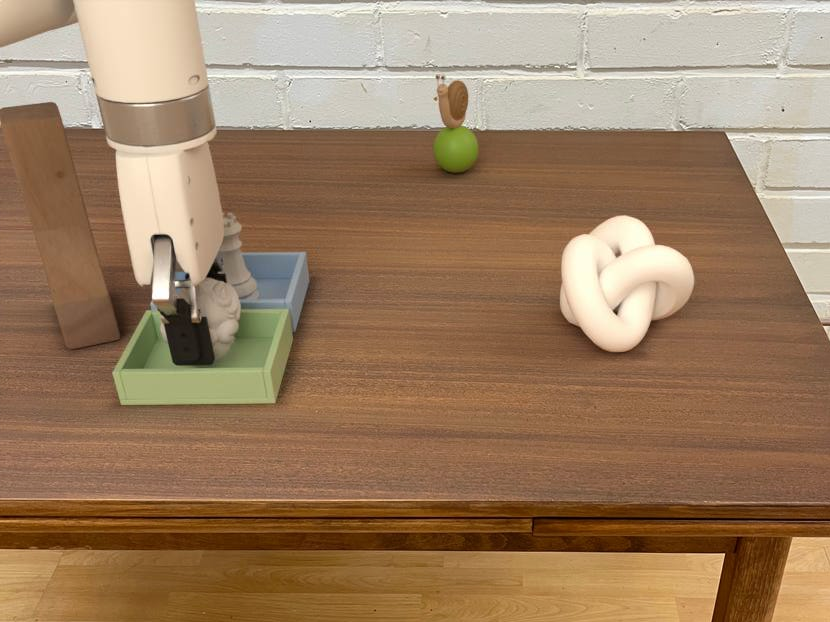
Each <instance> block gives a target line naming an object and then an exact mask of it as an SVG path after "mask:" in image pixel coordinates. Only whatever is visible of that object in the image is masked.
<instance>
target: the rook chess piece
mask: <svg viewBox="0 0 830 622" xmlns="http://www.w3.org/2000/svg"><path fill="white" fill-rule="evenodd" d="M222 215H223V223H224V237H223V241H222V244H221V246H220V252H221V255H222V258H223V261H224V271H223V272H218V273H225V274H226V279H227V283H228V284H230V285H232V286H233V288H234V289H235V291H236V293H237V295H238V298H239V299H258V297H259V291H258V290H257V289H256V288H257V282H256V280H255V279H254V278H253V277H252V276H251V275H250V272H249V271H248V270H247V268H246V266H245V263H244V260H243V257H242V254H241V253H242V250H241V247H242V245H243V242H242V240H240V239H239V234H240V233H241V231H242V229H243V225H242V224H241V223H240V222H239V221H237V216H236V215H234V213H232V212H228V213H227V217H225V212H223V211H222Z"/></svg>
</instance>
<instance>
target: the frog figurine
mask: <svg viewBox="0 0 830 622" xmlns="http://www.w3.org/2000/svg"><path fill="white" fill-rule="evenodd" d="M187 280H189V278H188V279H187ZM199 287H200V301H201V315H202V317H207V321H208V326H209V331H210V336H211V341H212V346H213V351H214V356H215V360H214V362H213V364H212V365H196V366H195V367H209V366H213V365H215V364H217V363H219V362H221V361H222V360H223V359H224V358H225V357H226V356H227V355H228V353H229V352H230V350H231V347H232V346H233V345H234V341H235V337H234V336H233V335H234V334H235V333H236V332H237V331H238V328H239V324H238V322H237V321H238V320H239V319H240V314H241V305H240V301H239V298H238V295H237V293H236V291H235V289H234V288H233V286H232V285H230V284H228V283H224V282H223V281H218V280H215V279H212V278H205V279H204V280H203V281H202V282H201V283H200V284H199ZM177 295H178V298H183V299H184V300H185V301H186V302H187V303H188V304H189V291H188V288H182V289H181V290H180V291H179V293H177ZM189 305H190V304H189ZM160 330H161V332H162V337H163V340H164V341H165V342H166V343H168V340H167V336H166V332H165V327H164V324H163V323H162V321H161V326H160Z"/></svg>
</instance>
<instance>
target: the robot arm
mask: <svg viewBox="0 0 830 622" xmlns="http://www.w3.org/2000/svg"><path fill="white" fill-rule="evenodd" d="M197 13H198V12H197V7H196V1H195V0H0V48H4V47H7V46H9V45H13V44H16V43H18V42H21V41H22V42H23V41H24V40H27V39H30V38H34V37H36V36H39V35H41V34H44V33H48V32H51V31H55V30H58V29H62V28H65V27H68V26H71V25H75V24H78V27H79V31H80V35H81V39H82V43H83V47H84V51H85V55H86V59H87V65H88V68H89V72H90V76H91V81H92V84H93V89H94V93H95V96H96V101H97V105H98V109H99V113H100V118H101V122H102V126H103V129H104V133H105V138H106V142H107V145H108V146H109V147H110V148H111V149H114V150H116V151H115V167H116V178H117V187H118V194H119V201H120V207H121V213H122V219H123V225H124V230H125V236H126V239H127V240H126V241H127V245H128V250H129V255H130V260H131V266H132V270H133V274H134V278H135V281H136V283H137V285H139V286H140V287H142V288H145V287H148V286H149V285H151V301H153V303H154V305H155V306H156V307H157V309H158V311H159V312H160V314H161V321H162V323H163V324H164V327H165V332H166V336H167V340H168V345H169V349H170V353H171V358H172V362H173V363H174V364H175V365H177V366H196V365H212V364H213V362H214V360H215V356H214V351H213V346H212V341H211V336H210V331H209V326H208V321H207V317H202V315H201V301H200V287H199V284H200V283H201V282H202V281H203V280H204V279H205V278H212V279H215V280H218V281H223V282H224V283H227V279H226V274H225V273H218V272H223V271H224V261H223V258H222V255H221V252H220V246H221V244H222V241H223V237H224V223H223V215H222V213H223V208H222V202H221V196H220V191H219V186H218V181H217V177H216V176H217V175H216V172H215V168H214V167H215V166H214V162H213V157H212V154H211V149H210V145H209V142H211V141H212V140H213V139H214V138H215V137H216V136H217V132H218V131H217V125H216V119H215V112H214V108H213V106H214V105H213V101H212V95H211V90H210V84H209V78H208V72H207V65H206V61H205V60H206V59H205V54H204V48H203V42H202V37H201V31H200V25H199V19H198V18H199V17H198V14H197ZM175 272H185V273H189V274H186V275H185V279H186V280H175ZM188 278H189V280H187V279H188ZM175 288H188V291H189V304H190V305H189V304H188V303H187V302H186V301H185V300H184V299H183V298H178V295H177V294H176V291H175Z"/></svg>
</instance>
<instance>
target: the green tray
mask: <svg viewBox="0 0 830 622" xmlns="http://www.w3.org/2000/svg"><path fill="white" fill-rule="evenodd" d="M237 322H238V324H239V328H238V331H237V332H236V333H235V334H234V335H233V336H234V337H235V341H234V345H233V346H232V347H231V350H230V352H229V353H228V355H227V356H226V357H225V358H224V359H223V360H222V361H221V362H219V363H217V364H215V365H213V366H209V367H195V366H177V365H175V364H174V363H173V362H172V358H171V353H170V349H169V345H168V343H166V342H165V341H164V340H163V337H162V332H161V330H160V326H161V314H160V312H159V311H158V310H152V309H146V310H145V312H144V313H143V316H142V318H141V319H140V321H139V323H138V325H137V326H136V328H135V330H134V332H133V334H132V336H131V337H130V339H129V341H128V343H127V345H126V346H125V349H124V350H123V352H122V354H121V356H120V358H119V360H118V361H117V363H116V365H115V366H114V369H113V371H112V372H111V374H112V378H113V382H114V385H115V388H116V392H117V396H118V399H119V402H120V405H121V406H158V405H159V406H161V405H162V406H163V405H166V406H167V405H170V406H171V405H248V404H249V405H250V404H253V405H254V404H257V405H258V404H262V405H263V404H276V402H277V400H278V395H279V392H280V389H281V384H282V382H283V377H284V374H285V371H286V368H287V363H288V360H289V356H290V352H291V349H292V346H293V341H294V335H293V332H292V326H291V319H290V312H289V309H241V314H240V319H239V320H238V321H237Z"/></svg>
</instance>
